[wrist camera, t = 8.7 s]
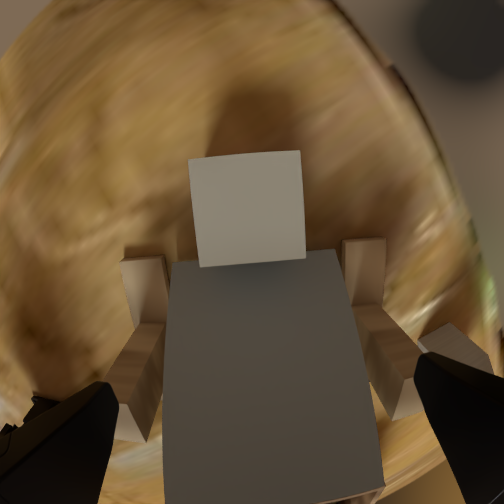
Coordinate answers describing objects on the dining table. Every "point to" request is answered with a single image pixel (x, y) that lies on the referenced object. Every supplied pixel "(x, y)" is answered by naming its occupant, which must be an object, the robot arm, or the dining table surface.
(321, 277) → the dark grey slab
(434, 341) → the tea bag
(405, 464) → the dining table surface
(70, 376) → the dining table surface
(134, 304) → the stand
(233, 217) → the pale grey cube
